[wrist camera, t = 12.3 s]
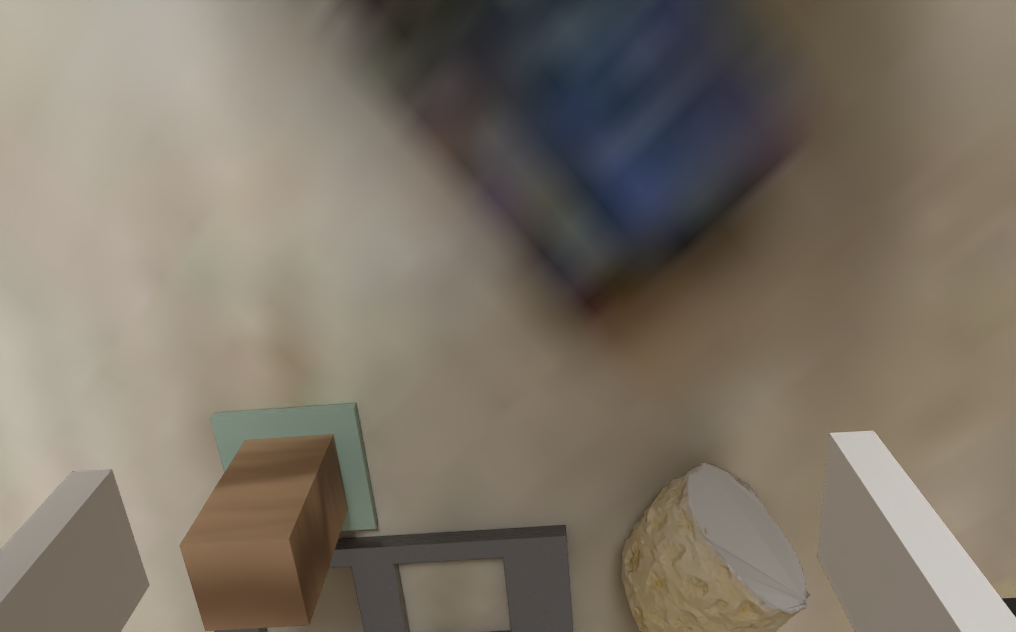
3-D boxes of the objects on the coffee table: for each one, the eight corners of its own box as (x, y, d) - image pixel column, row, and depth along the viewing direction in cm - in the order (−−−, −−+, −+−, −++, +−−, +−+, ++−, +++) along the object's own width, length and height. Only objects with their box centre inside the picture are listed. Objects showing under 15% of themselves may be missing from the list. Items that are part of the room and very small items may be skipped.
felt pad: (214, 412, 44) (210, 418, 43) (356, 402, 44) (353, 408, 43) (244, 530, 47) (241, 537, 46) (377, 522, 47) (375, 528, 46)
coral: (890, 576, 39) (773, 746, 38) (762, 504, 48) (665, 638, 47) (771, 470, 36) (640, 652, 35) (659, 416, 45) (554, 557, 44)
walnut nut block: (244, 439, 44) (179, 545, 36) (333, 433, 44) (288, 538, 35) (263, 514, 46) (205, 631, 37) (348, 509, 45) (309, 625, 37)
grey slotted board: (199, 547, 47) (192, 558, 47) (565, 525, 46) (566, 535, 45) (232, 660, 51) (226, 673, 50) (573, 642, 50) (574, 654, 49)
